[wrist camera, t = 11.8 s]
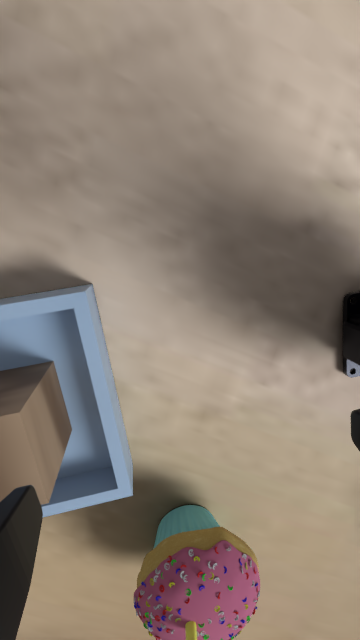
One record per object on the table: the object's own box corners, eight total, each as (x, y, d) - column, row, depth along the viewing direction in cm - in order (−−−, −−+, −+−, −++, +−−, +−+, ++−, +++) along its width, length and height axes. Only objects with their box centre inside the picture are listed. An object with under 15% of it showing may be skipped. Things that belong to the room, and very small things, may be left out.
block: (53, 361, 19) (19, 412, 13) (72, 429, 20) (48, 503, 15) (-31, 376, 18) (-105, 437, 13) (-6, 445, 20) (-62, 529, 14)
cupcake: (119, 557, 25) (107, 833, 13) (159, 471, 23) (186, 697, 12) (211, 574, 27) (272, 826, 15) (254, 496, 25) (357, 709, 14)
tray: (92, 283, 19) (85, 291, 16) (132, 463, 23) (132, 495, 20) (-108, 316, 18) (-155, 331, 15) (-32, 501, 21) (-57, 541, 18)
